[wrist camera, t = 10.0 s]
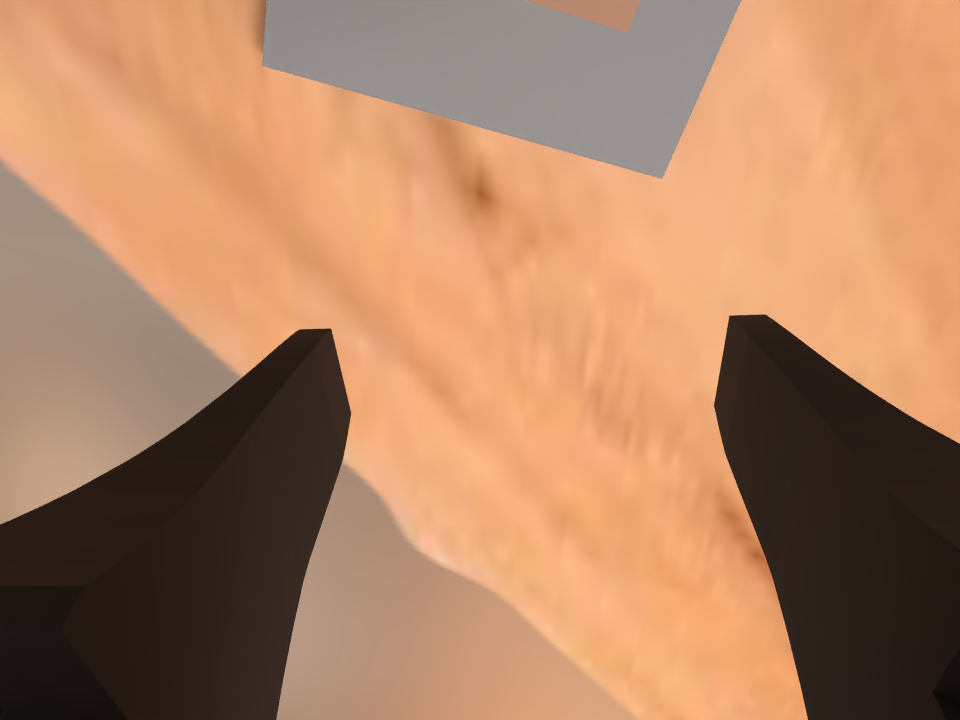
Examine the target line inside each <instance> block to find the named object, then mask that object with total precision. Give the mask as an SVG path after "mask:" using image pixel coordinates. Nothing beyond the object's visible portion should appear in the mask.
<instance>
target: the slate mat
mask: <svg viewBox="0 0 960 720" xmlns="http://www.w3.org/2000/svg"><path fill="white" fill-rule="evenodd" d="M740 1H741V0H640V2H639V4H638V7H637V10H636V12H635V15H634V18H633V21H632V23H631V26H630V29H629V31H628V33H626V32H623V31H620V30H616V29H613V28H610V27H607V26H604V25H601V24H598V23H594V22H591V21H588V20H585V19H582V18H579V17H576V16H573V15H569V14H566V13H563V12H560V11H557V10H554V9H551V8H547V7H544V6H541V5H538V4H535V3H532V2H529V1H525V0H267V1H266V16H265V31H264V46H263V61H262V66H265V67H269V68H272V69H276V70H279V71H283V72H286V73H290V74H293V75H297V76H301V77H304V78H308V79H311V80H315V81H318V82H322V83H325V84H329V85H332V86H336V87H339V88H343V89H346V90H350V91H354V92H357V93H361V94H364V95H368V96H371V97H375V98H378V99H382V100H385V101H389V102H392V103H396V104H400V105H403V106H407V107H410V108H414V109H417V110H421V111H424V112H428V113H431V114H435V115H438V116H442V117H445V118H449V119H453V120H456V121H460V122H463V123H467V124H470V125H474V126H477V127H481V128H484V129H488V130H491V131H495V132H499V133H502V134H506V135H509V136H513V137H516V138H520V139H523V140H527V141H530V142H534V143H537V144H541V145H544V146H548V147H552V148H555V149H559V150H562V151H566V152H569V153H573V154H576V155H580V156H583V157H587V158H590V159H594V160H598V161H601V162H605V163H608V164H612V165H615V166H619V167H622V168H626V169H629V170H633V171H636V172H640V173H643V174H647V175H651V176H654V177H658V178H661V179H662V178H663V176H664V173H665V171H666V169H667V167H668V164H669V162H670V160H671V158H672V155H673V153H674V151H675V149H676V146H677V144H678V142H679V140H680V137H681V135H682V133H683V130H684V128H685V126H686V124H687V121H688V119H689V117H690V115H691V112H692V110H693V108H694V106H695V103H696V101H697V99H698V97H699V94H700V92H701V90H702V87H703V85H704V83H705V81H706V78H707V76H708V74H709V72H710V69H711V67H712V65H713V63H714V60H715V58H716V56H717V54H718V51H719V49H720V47H721V44H722V42H723V40H724V38H725V35H726V33H727V31H728V29H729V26H730V24H731V22H732V20H733V17H734V15H735V13H736V11H737V8H738V6H739V4H740Z"/></svg>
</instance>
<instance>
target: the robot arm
mask: <svg viewBox="0 0 960 720" xmlns="http://www.w3.org/2000/svg"><path fill="white" fill-rule="evenodd" d="M714 407H715V412H716V416H717V421H718V425H719V430H720V434H721V438H722V442H723V446H724V450H725V454H726V457H727V459H728V462H729V465H730V467H731V470H732V473H733V475H734V478H735V480H736V483H737V486H738V488H739V491H740V493H741V496H742V498H743V501H744V503H745V506H746V509H747V511H748V514H749V516H750V519H751V521H752V524H753V526H754V529H755V531H756V534H757V536H758V539H759V542H760V544H761V547H762V549H763V552H764V554H765V557H766V560H767V563H768V566H769V569H770V572H771V574H772V577H773V580H774V584H775V588H776V591H777V595H778V599H779V603H780V606H781V610H782V614H783V617H784V621H785V625H786V629H787V632H788V636H789V640H790V644H791V649H792V653H793V657H794V661H795V665H796V669H797V673H798V677H799V681H800V685H801V689H802V694H803V698H804V703H805V707H806V712H807V717H808V720H960V444H959V443H957V442H955V441H954V440H952V439H950V438H948V437H946V436H944V435H943V434H941V433H939V432H937V431H935V430H933V429H932V428H930V427H928V426H926V425H924V424H923V423H921V422H919V421H917V420H916V419H914V418H912V417H911V416H909V415H907V414H906V413H904V412H902V411H901V410H899V409H898V408H896V407H895V406H893V405H891V404H890V403H888V402H887V401H885V400H884V399H882V398H881V397H879V396H877V395H876V394H874V393H873V392H871V391H870V390H868V389H867V388H865V387H864V386H862V385H861V384H860V383H858V382H857V381H855V380H854V379H852V378H851V377H849V376H848V375H847V374H845V373H844V372H842V371H841V370H840V369H838V368H837V367H836V366H834V365H833V364H831V363H830V362H829V361H827V360H826V359H825V358H823V357H822V356H821V355H819V354H818V353H817V352H815V351H814V350H813V349H811V348H810V347H809V346H807V345H806V344H805V343H803V342H802V341H801V340H800V339H798V338H797V337H796V336H794V335H793V334H792V333H790V332H789V331H788V330H786V329H785V328H784V327H782V326H781V325H780V324H778V323H777V322H775V321H774V320H773V319H771V318H770V317H768V316H767V315H737V316H729V322H728V328H727V334H726V339H725V345H724V351H723V357H722V363H721V369H720V374H719V380H718V386H717V392H716V398H715V403H714ZM350 417H351V410H350V406H349V402H348V398H347V394H346V389H345V385H344V381H343V377H342V372H341V368H340V364H339V360H338V356H337V351H336V347H335V343H334V339H333V335H332V330H331V329H301V330H298V331H297V332H295V333H294V334H293V335H291V336H290V337H289V338H288V339H286V340H285V341H284V342H283V343H282V344H281V345H279V346H278V347H277V348H276V349H275V350H274V351H272V352H271V353H270V354H269V355H268V356H267V357H266V358H264V359H263V360H262V361H261V362H260V363H259V364H258V365H256V366H255V367H254V368H253V369H252V370H251V371H249V372H248V373H247V374H246V375H245V376H243V377H242V378H241V379H240V380H239V381H238V382H236V384H234V385H233V386H232V387H231V388H229V389H228V390H227V391H226V392H224V393H223V394H222V395H221V396H219V397H218V398H217V399H215V400H214V401H213V402H212V403H210V404H209V405H208V406H206V407H205V408H204V409H202V410H201V411H200V412H199V413H197V414H196V415H195V416H193V417H192V418H191V419H190V420H188V421H187V422H186V423H185V424H183V425H181V426H180V427H179V428H177V429H176V430H174V431H173V432H171V433H170V434H169V435H167V436H166V437H164V438H163V439H161V440H160V441H158V442H157V443H155V444H153V445H152V446H150V447H149V448H147V449H146V450H144V451H142V452H141V453H139V454H138V455H136V456H134V457H133V458H131V459H130V460H128V461H126V462H124V463H123V464H121V465H119V466H117V467H115V468H114V469H112V470H110V471H108V472H106V473H105V474H103V475H101V476H99V477H97V478H96V479H94V480H92V481H90V482H88V483H87V484H85V485H83V486H81V487H79V488H78V489H76V490H74V491H72V492H70V493H68V494H66V495H64V496H62V497H59V498H57V499H55V500H53V501H51V502H49V503H47V504H45V505H43V506H41V507H39V508H37V509H34V510H32V511H30V512H28V513H25V514H23V515H21V516H19V517H17V518H14V519H12V520H10V521H8V522H5V523H3V524H1V525H0V720H276V718H277V712H278V706H279V700H280V694H281V688H282V682H283V677H284V672H285V667H286V662H287V656H288V651H289V646H290V641H291V636H292V631H293V626H294V621H295V617H296V612H297V607H298V603H299V598H300V594H301V589H302V585H303V581H304V577H305V574H306V570H307V566H308V563H309V559H310V556H311V553H312V551H313V548H314V544H315V542H316V539H317V535H318V533H319V530H320V527H321V524H322V521H323V518H324V515H325V512H326V509H327V506H328V503H329V500H330V497H331V494H332V491H333V488H334V485H335V482H336V479H337V476H338V473H339V470H340V467H341V463H342V460H343V456H344V451H345V446H346V441H347V435H348V429H349V423H350Z"/></svg>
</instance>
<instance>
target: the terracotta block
mask: <svg viewBox="0 0 960 720" xmlns="http://www.w3.org/2000/svg"><path fill="white" fill-rule="evenodd" d="M525 1H529V2H532V3H535V4H538V5H541V6H544V7H547V8H551V9H554V10H557V11H560V12H563V13H566V14H569V15H573V16H576V17H579V18H582V19H585V20H588V21H591V22H594V23H598V24H601V25H604V26H607V27H610V28H613V29H616V30H620V31H623V32H626V33H628V31H629V29H630V26H631V23H632V21H633V18H634V15H635V12H636V10H637V7H638V4H639V2H640V0H525Z"/></svg>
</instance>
